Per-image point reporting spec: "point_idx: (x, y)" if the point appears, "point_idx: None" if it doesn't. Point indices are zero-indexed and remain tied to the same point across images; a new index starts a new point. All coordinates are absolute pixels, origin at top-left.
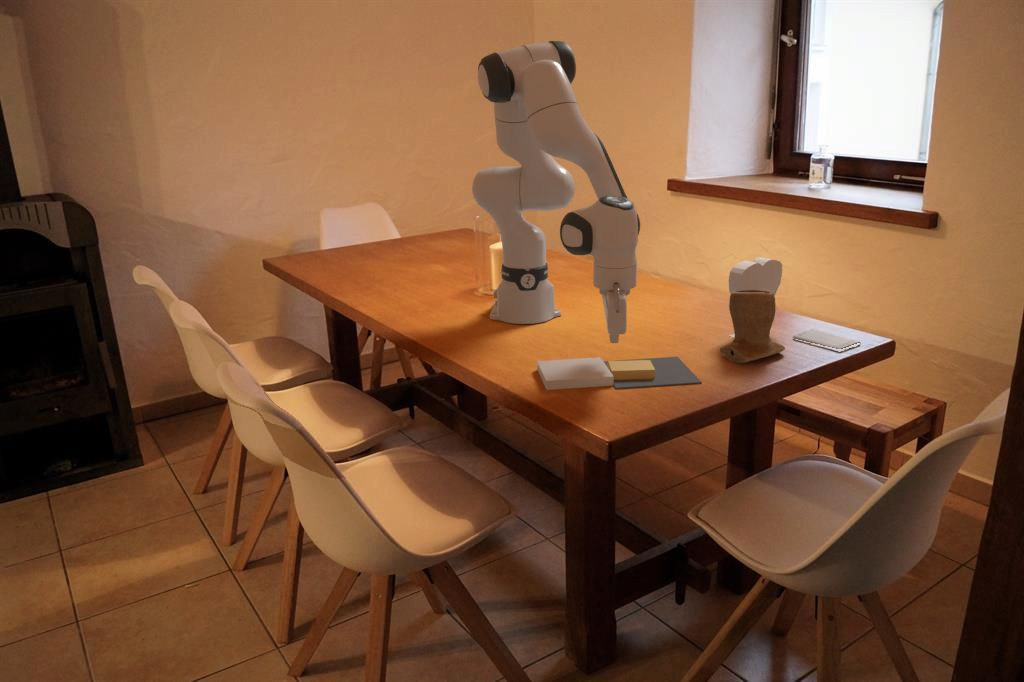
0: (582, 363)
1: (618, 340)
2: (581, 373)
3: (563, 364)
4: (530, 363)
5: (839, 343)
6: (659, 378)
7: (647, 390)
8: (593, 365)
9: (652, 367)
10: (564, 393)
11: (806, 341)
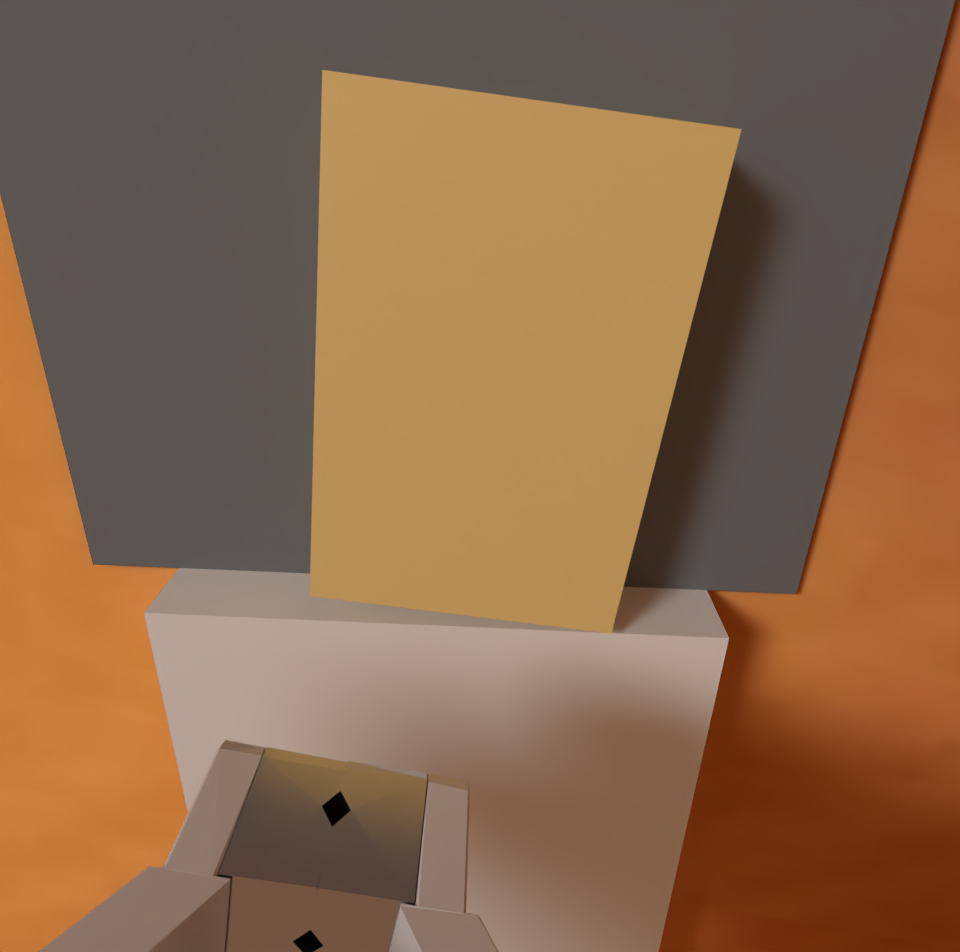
0: None
1: (468, 805)
2: (564, 837)
3: None
4: None
5: None
6: (715, 66)
7: (951, 321)
8: (380, 719)
9: (640, 140)
10: (724, 888)
11: None
